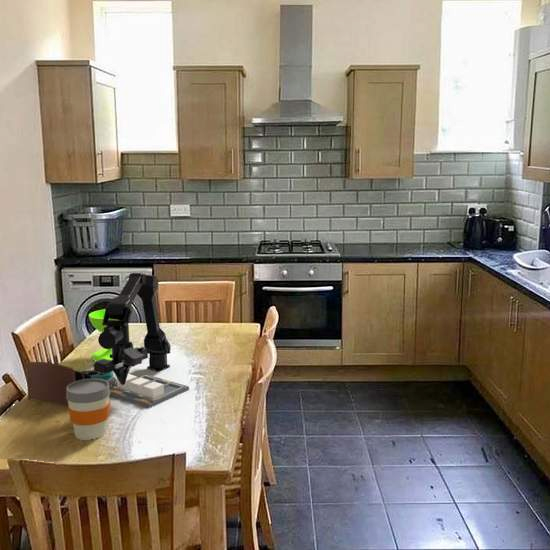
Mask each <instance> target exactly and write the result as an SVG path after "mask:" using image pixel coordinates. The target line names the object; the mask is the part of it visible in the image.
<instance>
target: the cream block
mask: <svg viewBox="0 0 550 550" xmlns="http://www.w3.org/2000/svg"><path fill="white" fill-rule="evenodd" d="M138 378H139V377H138ZM149 383H150V380H147V379H144V378H139V379H136V380H134V381H131V382H130V392H133V393H136V394H139V395H142V394H144V393H143V386H145V385H147V384H149Z"/></svg>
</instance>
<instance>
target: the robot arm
mask: <svg viewBox="0 0 550 550" xmlns="http://www.w3.org/2000/svg"><path fill="white" fill-rule="evenodd" d="M158 290H159V279H158V278H157V276H155V275H154V274H153V275H150V274H146V273H143V272H132V273H130V274H129V275H128V279H127V282H126V283H125V285H124V286H123V288H122V290H121V291H120V293H119V294H118V296H115V297H113V298H112V299H111V300H110V301H109V302H108V303H107V305H106V307H105V309H106V310H105V314H104V319H103V323H102V325H105V326H107V327H105V328H104V332H100V334H99V336H98V344H99V346H100V347H101V348H103V349H111V348H112V354H110V358H113V360H110V361H109V360H106V359H102V360H99V361H94V363H93V370H95V371H98V372H102V373H109V372H112V371H113V374H114V375H115V378H116V379H117V378H118V380H119V382H120V384H121V385H124V384H125V382H126V379H127V375H128V374H129V372H130V370H131V369H132V368H133V367H135V366H138V365H141V364H142V363H143V360H145V359H148V362H149V363H148V364H149V365H148V366H147V367H146V368H147V369H148V370H149V369H150V370H153V371H156V372H160V371H163V370H166V369H168V368H170V367H171V365H170V364H168V356H167V355H169V354H171V350H172V349H171V347H172V345H171V344H170V342H169V341H168V339H167V335H166V333H165V332H164V330H162V328H161V327H160V320H159V314H158V308H157V302H156V294H157V291H158ZM137 296H138V297H139V298H140V299H141V301H142V309H143V313H144V314H143V315H144V320H145V326H146V333H145V334H146V335H145V336H144V338H143V346H141V347H137V346H136V347H134V344H133V342H132V341H130V328H129V327H130V326H129V324H130V323H131V318H132V315H133V307H132V303H134V300H135V299H136V297H137ZM109 319H113V320H109Z"/></svg>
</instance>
